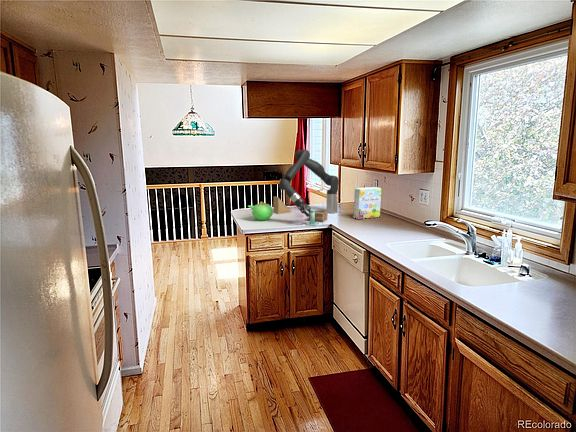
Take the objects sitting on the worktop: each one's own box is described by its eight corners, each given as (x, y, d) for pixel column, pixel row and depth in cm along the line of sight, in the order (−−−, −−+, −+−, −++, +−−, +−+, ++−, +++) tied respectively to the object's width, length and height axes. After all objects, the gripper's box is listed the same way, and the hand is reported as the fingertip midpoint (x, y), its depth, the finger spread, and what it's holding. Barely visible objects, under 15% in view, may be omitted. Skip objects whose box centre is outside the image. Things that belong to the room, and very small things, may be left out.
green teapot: (261, 223, 316) (261, 204, 313) (247, 220, 327) (246, 202, 324) (277, 219, 330) (276, 201, 327) (262, 216, 340) (262, 199, 337)
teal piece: (309, 223, 316) (309, 208, 313) (318, 224, 312) (319, 209, 310) (305, 225, 308) (305, 210, 306) (315, 226, 305) (315, 211, 303)
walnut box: (313, 218, 333) (313, 210, 332) (327, 219, 328) (327, 211, 327) (308, 221, 323) (308, 212, 321) (322, 222, 318) (322, 213, 316)
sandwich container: (292, 212, 360) (292, 195, 357) (278, 214, 352) (278, 197, 349) (287, 210, 367) (287, 194, 364) (273, 212, 359) (273, 196, 356)
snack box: (358, 220, 326) (359, 189, 320) (352, 218, 333) (353, 187, 328) (380, 218, 333) (382, 187, 328) (374, 216, 341) (375, 186, 336)
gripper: (296, 197, 304) (310, 213, 301) (303, 195, 316) (316, 210, 314) (290, 204, 307) (304, 220, 305) (297, 201, 320) (310, 216, 317)
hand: (310, 215), depth 309 cm, fingers open, 8 cm apart
